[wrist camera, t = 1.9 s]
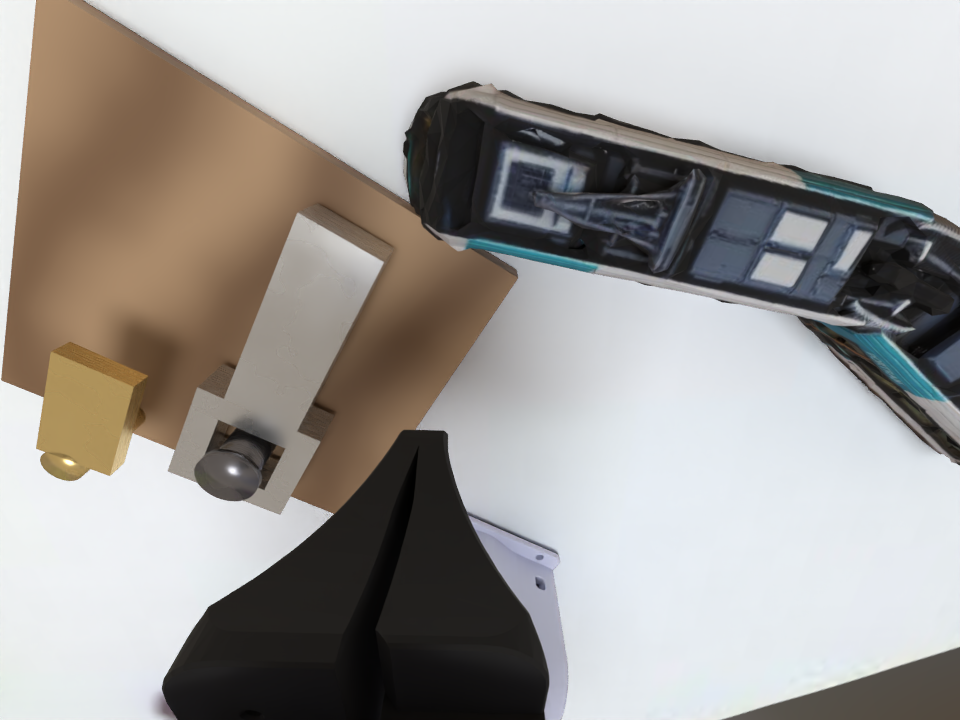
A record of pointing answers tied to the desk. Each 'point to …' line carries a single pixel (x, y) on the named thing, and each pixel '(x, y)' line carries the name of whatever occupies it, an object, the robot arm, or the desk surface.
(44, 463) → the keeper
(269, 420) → the link
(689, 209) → the tram
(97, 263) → the board
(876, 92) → the desk surface
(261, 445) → the knob
